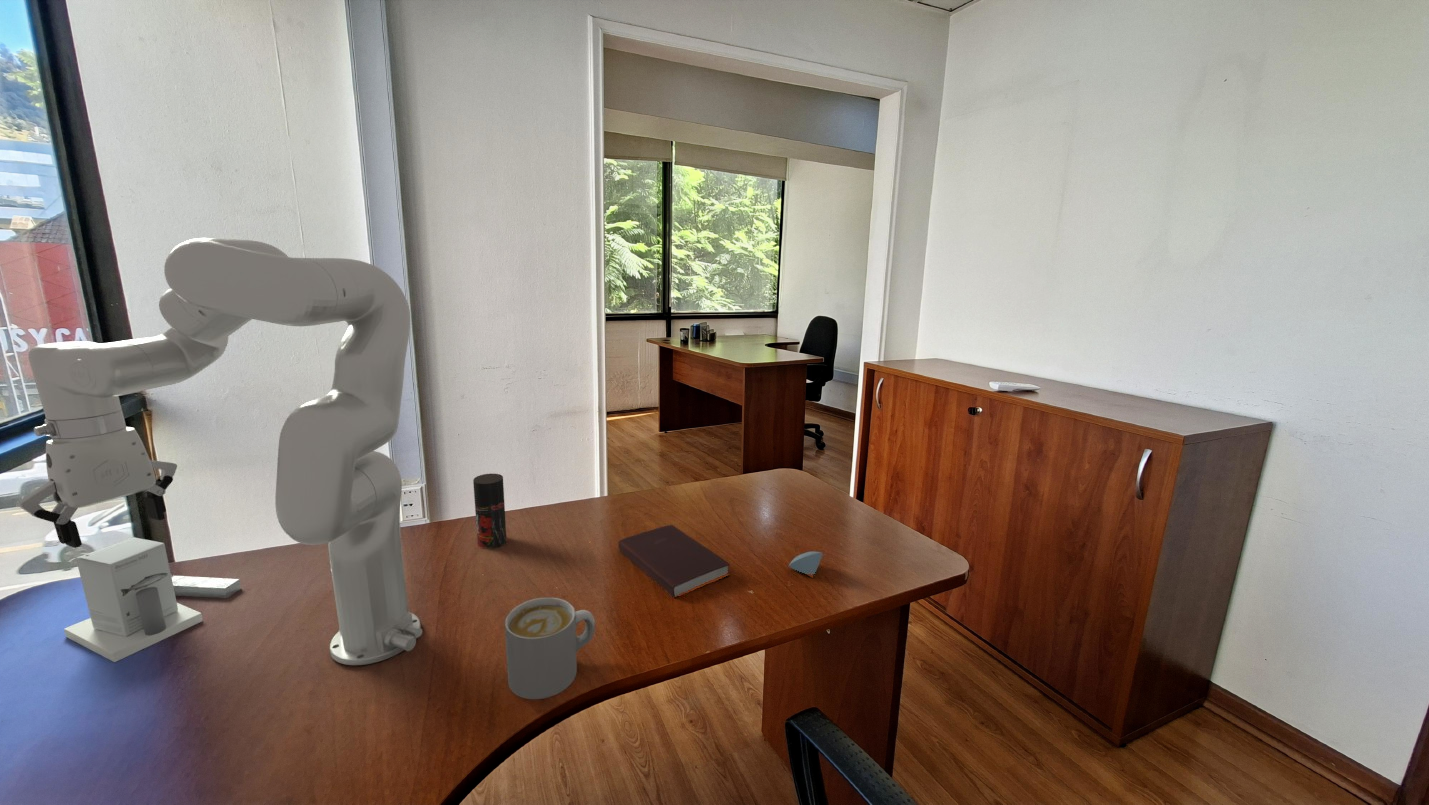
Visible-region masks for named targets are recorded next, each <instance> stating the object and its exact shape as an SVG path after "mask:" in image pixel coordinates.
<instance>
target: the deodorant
mask: <svg viewBox="0 0 1429 805" xmlns="http://www.w3.org/2000/svg"><path fill="white" fill-rule="evenodd" d="M472 482H473V496H474V498H473V499H474V509H475V510H474V511H475V522H476V524H475V526H476V540H477V542H476V543H477V547H479V548H481V549H483V550H484V549H485V550H492V549H498V548H500V547H502V546H504V545H505V544H506V543H507V527H506V526H507V525H506V523H507V522H506V511H505V510H506V508H505V507H506V506H505V504H506V503H505V489H504V476H503V475H502V474H499V473H485V474H480V475H477V476H475V477H474V478H473V479H472Z"/></svg>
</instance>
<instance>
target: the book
mask: <svg viewBox="0 0 1429 805" xmlns="http://www.w3.org/2000/svg"><path fill="white" fill-rule="evenodd" d="M617 547H618V550H619V552H620V553H621V554H622V555H624V556H625V557H626V558H627V559H628V560H629V561H631V562H632V563H633V564H634V565H636V566H637V568H639V569H640V570H641V571H642V572H643V573H644V572H645V573H646V574H645V573H644V574H645V575H646V576H647V577H649V578H650V577H651V578H652V579H653V580H654V581H656V582H657V583H658V584H659V585H660V586H661V587H663V589H665V590H666V591H667V592H668V593H669V594H670V595H671V596H672V597H674V598H673V599H676V598H675V596H677V595H679V594H681V593H683V592H686V591H688V590H690V589H692V588H694V587H696V586H699V585H701V584H704V583H705V582H708V581H710V580H713V579H715V578H717V577H720V576H722V575H725V574H727V573H729V566H730V565H731V564H730V563H729V562H728V561H727V560H725V559H724V558H723V557H721V556H719V555H718V554H716V553H715V552H714V551H712V550H710V549H709V548H707V547H706V546H704V545H703V544H701V543H699V542H698V541H696V540H695V539H693V538H692V537H690V536H689V535H687V534H686V533H685V532H683V531H682V530H681V529H679V528H677V527H676V526H675V525H673V524H670V525H669V524H668V525H664V526H660V527H656V528H654V529H650V530H647V531H643V532H639V533H636V534H634V535H631V536H628V537H623V538H622V539H619V541H618V545H617ZM651 578H650V579H651ZM652 579H651V580H652ZM653 580H652V581H653ZM654 581H653V582H654ZM656 582H655V583H656ZM657 583H656V584H657ZM658 584H657V585H658ZM659 585H658V586H659ZM660 586H659V587H660ZM661 587H660V588H661ZM663 589H662V590H663ZM665 590H664V591H665ZM666 591H665V592H666ZM667 592H666V593H667ZM668 593H667V594H668ZM669 594H668V595H669ZM670 595H669V596H670ZM671 596H670V597H671ZM672 597H671V598H672Z"/></svg>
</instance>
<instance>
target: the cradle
mask: <svg viewBox="0 0 1429 805" xmlns="http://www.w3.org/2000/svg"><path fill="white" fill-rule="evenodd" d="M136 598H137V602H138V606H139V611H140V615H141V619H142V623H143V628H141V629H139V630H137V631H135V632H133V633H131V634H130V635H128V636H121V635H117V634H113V633H109V632H105V631H102V630H98V629H94V628H93V625H92V621H91V617H89V618H87V619H85V620H82V621H79V622H77V623H74V624H72V625H70V626H67V627H65V628H63V631H64V633H65V636H66V638H67V639H69V640H71V641H73V642H75V643H77V644H79V645H81V646H82V647H84V648H87V649H88V650H90V651H92V652H94V653H96V654H98V655H99V656H102V657H103V658H105V659H107V660H109V661H111V662H113V663H116V662H118V661H120V660H123V659H125V658H127V657H130V656H131V655H133V654H135V653H138V652H139V651H141V650H143V649H146V648H148V647H150V646H153V645H155V644H157V643H159V642H161V641H163V640H166V639H167V638H169V637H172V636H174V635H176V634H178V633H180V632H182V631H184V630H187V629H189V628H191V627H193V626H195V625H197V624H199V623H202V622H204V620H203V615H202V612H200V611H197V610H194V609H193V608H190V607H189V606H186V605H184V604H181V603H179V602H177V606H178V611H176V612H174V613H172V614H169V615H167V616H165V617H164V615H163V611H162V606H161V602H160V598H159V593H158V589H157V587H149V588H145V589H142V590H140V591H138V592H137V593H136Z"/></svg>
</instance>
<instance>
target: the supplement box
mask: <svg viewBox="0 0 1429 805" xmlns="http://www.w3.org/2000/svg"><path fill="white" fill-rule="evenodd" d="M75 561H76V564H77V568H78V573H79V575H80V580H81V584H82V588H83V592H84V595H85V599H86V604H87V608H88V611H89V616H90V617H89V618H91V621H92V625H93V628H94V629H98V630H102V631H105V632H109V633H113V634H117V635H121V636H128V635H130V634H131V633H133V632H135V631H137V630H139V629H141V628H143V623H142V619H141V615H140V611H139V606H138V602H137V598H136V593H137V592H138V591H140V590H142V589H145V588H149V587H157V589H158V593H159V598H160V602H161V606H162V611H163V615H164V617H165V616H167V615H169V614H172V613H174V612H176V611H178V606H177V603H178V602H177V599H176V595H175V592H174V587H173V583H172V578H171V574H172V573H171V568H170V564H169V559H168V554H167V550H166V544H165V543H164V542H160V541H156V540H150V539H145V538H139V537H130V538H127V539H125V540H122V541H119V542H116V543H114V544H111V545H109V546H106V547H103V548H100V549H97V550H94V551H92V552H89V553H86V554H83V555H80V556H77V557H76V558H75Z"/></svg>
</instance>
